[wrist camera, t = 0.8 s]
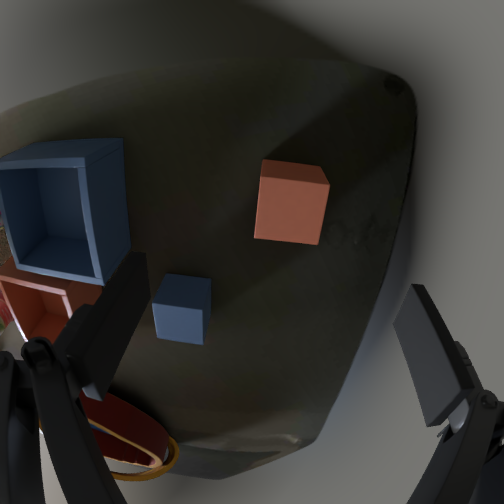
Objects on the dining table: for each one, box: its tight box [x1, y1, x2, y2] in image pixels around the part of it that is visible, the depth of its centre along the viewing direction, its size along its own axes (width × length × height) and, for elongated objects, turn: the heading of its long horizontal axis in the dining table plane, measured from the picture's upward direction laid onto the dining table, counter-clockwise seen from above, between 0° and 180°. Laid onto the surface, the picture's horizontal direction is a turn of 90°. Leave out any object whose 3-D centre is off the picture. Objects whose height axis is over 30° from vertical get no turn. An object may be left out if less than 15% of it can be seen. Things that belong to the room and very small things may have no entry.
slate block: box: [152, 273, 211, 345], centre depth 32 cm, size 5×5×5 cm
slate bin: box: [0, 138, 131, 286], centre depth 25 cm, size 12×12×7 cm
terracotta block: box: [254, 159, 330, 245], centre depth 25 cm, size 5×5×5 cm
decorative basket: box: [39, 389, 179, 481], centre depth 46 cm, size 34×29×15 cm
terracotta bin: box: [0, 255, 103, 344], centre depth 32 cm, size 12×12×7 cm
